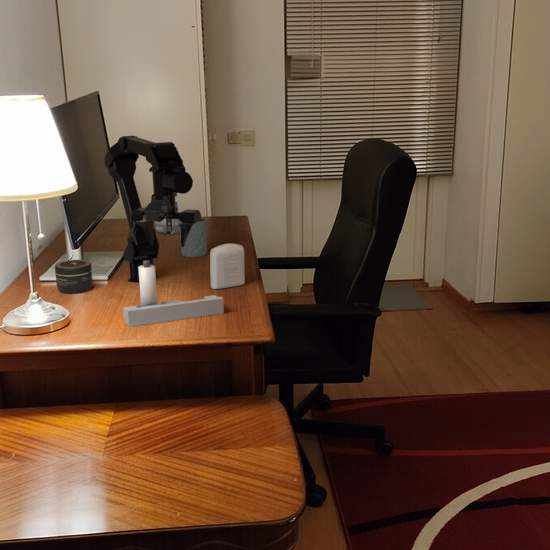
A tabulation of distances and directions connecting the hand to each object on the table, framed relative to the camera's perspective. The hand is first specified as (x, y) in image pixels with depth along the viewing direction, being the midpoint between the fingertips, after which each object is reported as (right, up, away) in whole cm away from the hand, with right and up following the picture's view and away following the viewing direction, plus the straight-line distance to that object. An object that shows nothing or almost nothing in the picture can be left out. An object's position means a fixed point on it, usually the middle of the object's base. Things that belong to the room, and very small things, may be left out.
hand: (167, 246), depth 189 cm
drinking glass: (+2, -1, +45) cm, 45 cm away
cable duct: (+4, -18, -16) cm, 25 cm away
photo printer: (+16, -11, +8) cm, 21 cm away
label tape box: (-12, +8, +78) cm, 80 cm away
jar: (-27, -12, +6) cm, 30 cm away
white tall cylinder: (-2, -18, -17) cm, 25 cm away
